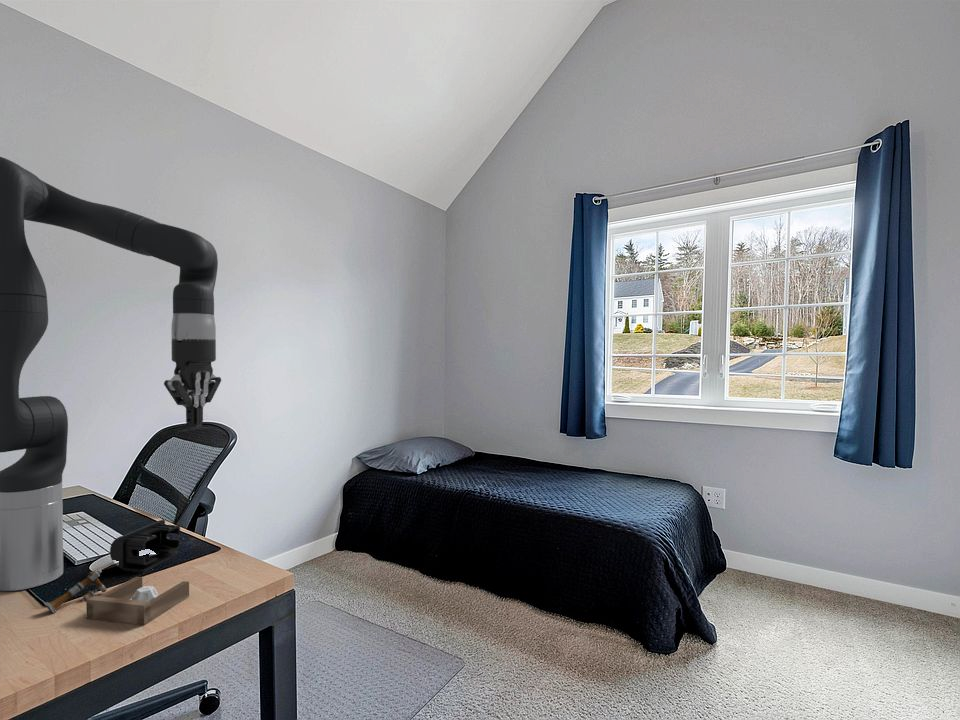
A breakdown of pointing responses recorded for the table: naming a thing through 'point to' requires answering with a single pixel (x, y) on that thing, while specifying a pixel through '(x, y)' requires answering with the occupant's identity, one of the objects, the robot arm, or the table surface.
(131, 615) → the dice corral
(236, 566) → the table surface
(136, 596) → the game die
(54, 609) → the wooden post with brackets
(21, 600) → the table surface
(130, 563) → the end cap
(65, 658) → the table surface
